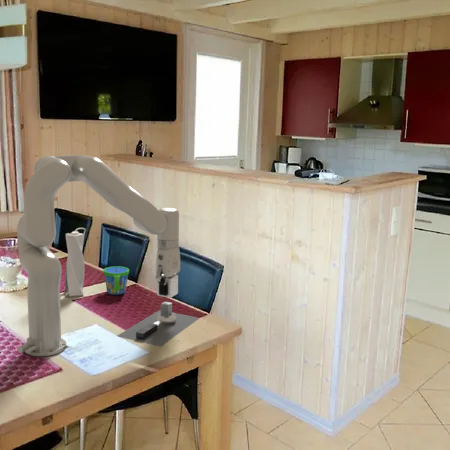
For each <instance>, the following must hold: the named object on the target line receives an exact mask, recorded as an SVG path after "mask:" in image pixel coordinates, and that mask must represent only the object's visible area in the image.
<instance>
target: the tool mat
mask: <svg viewBox="0 0 450 450" xmlns="http://www.w3.org/2000/svg"><path fill="white" fill-rule="evenodd" d="M160 312H161V309H159V310H157V311H156V312H154V313H152V314H151V315H149V316H148V317H145V318H144V319H142V320H140V321H139V322H137V323H136V324H134V325H132V326H131V327H129V328H127V329H126V330H124V331H123V332H121V333H120V334H118V335H117V337H119V338H123V339H126V340H127V339H128V340H131V341H136V342H140V343H145V344H148V345H153V346H157V347H163V346H164V345H166V344H167V343H168V342H169V341H170V340H172V339H174V337H176V336H177V335H179V334H180V333H181V332H182V331H184V330H186V329H187V328H188V327H190V326H191V325H192V324H194V323H196V321H198V320H199V319H200V317H197V316H192V315H187V314H182V313H178V312H177V313H176V312H173V311H172V313H175V314H176V323H174V324H172V325H164V326H162V327H161V328H159V329H158V330H157V331H156V332H154V333H153V334H151V335H150V336H148V337H147V338H145V339H144V340H141V339H137V338H136V332H137V331H139V330H140V329H142V328H143V327H145V326H146V325H148V324H150V323H155V322H156V317H157V314H158V313H160Z"/></svg>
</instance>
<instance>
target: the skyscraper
mask: <svg viewBox="0 0 450 450" xmlns="http://www.w3.org/2000/svg"><path fill="white" fill-rule="evenodd" d="M78 230H84V231H83V233H82V232H81V233H80V232H79V231H78ZM86 231H87V229H86V228H85V227H78V228H76V229H75V230H73V231H72V232H70V233H69V232H67V233H65V241H66V248H67V256H66V257H67V258H66V263H65V264H66V265H65V273H64V278H65V279H64V296H65V298H76V297H84V292H83V290H84V281H85V260H84V255H83V247H84V241H85V233H86Z"/></svg>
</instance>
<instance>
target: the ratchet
mask: <svg viewBox="0 0 450 450" xmlns="http://www.w3.org/2000/svg"><path fill="white" fill-rule="evenodd" d="M160 310H161V312H160V313H158V314H157V317H156V322H155V323H150V324H148V325H146V326H145V327H143V328H142V329H140V330H139V331H137V332H136V338H137V339H141V340H144V339H145V338H147V337H148V336H150V335H151V334H153V333H154V332H156V331H157V330H158V329H159V328H161V327H162V326H164V325H172V324H174V323H176V314H175V313H176V312H173V302H169V301H164V302H162V303H160ZM172 312H173V313H172Z"/></svg>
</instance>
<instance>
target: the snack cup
mask: <svg viewBox="0 0 450 450" xmlns="http://www.w3.org/2000/svg"><path fill="white" fill-rule="evenodd" d="M129 274H130V269H129V268H128V267H125V266H121V265H119V266H117V265H115V266H109V267H105V268H104V269H103V275H104V281H105V286H106V292H107V294H108V295H112V296H120V295H123V294H125V293H126V289H127V284H128V278H129Z"/></svg>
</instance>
